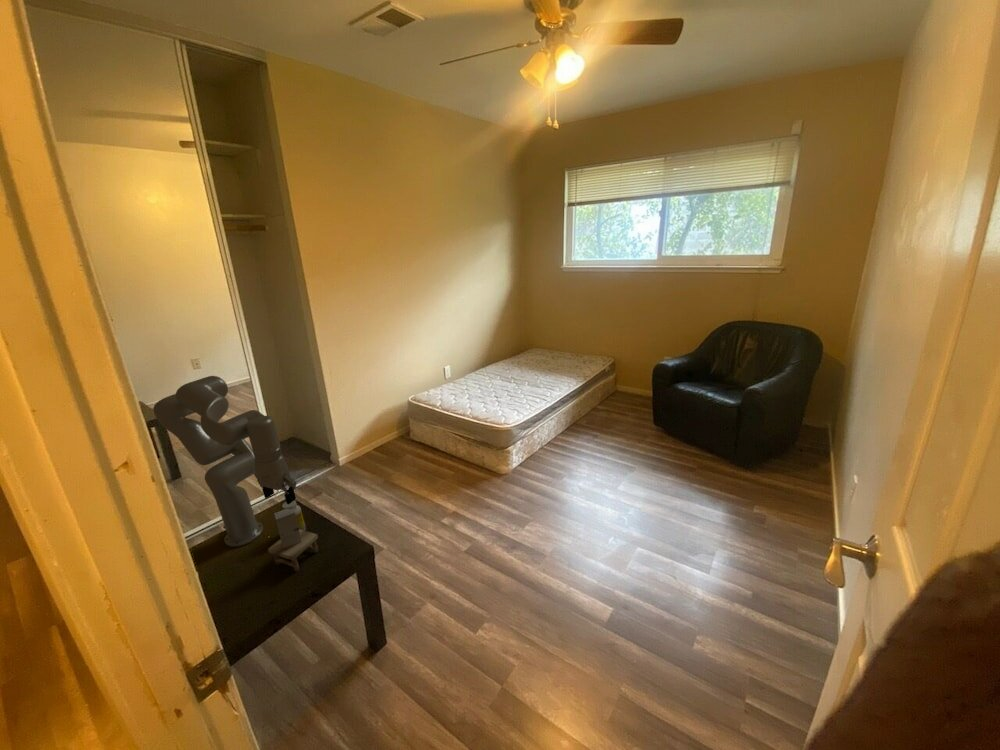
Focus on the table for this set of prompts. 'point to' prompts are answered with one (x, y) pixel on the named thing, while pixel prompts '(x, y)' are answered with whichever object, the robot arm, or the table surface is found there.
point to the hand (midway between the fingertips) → (280, 498)
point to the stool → (294, 549)
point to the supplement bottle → (298, 514)
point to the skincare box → (288, 527)
